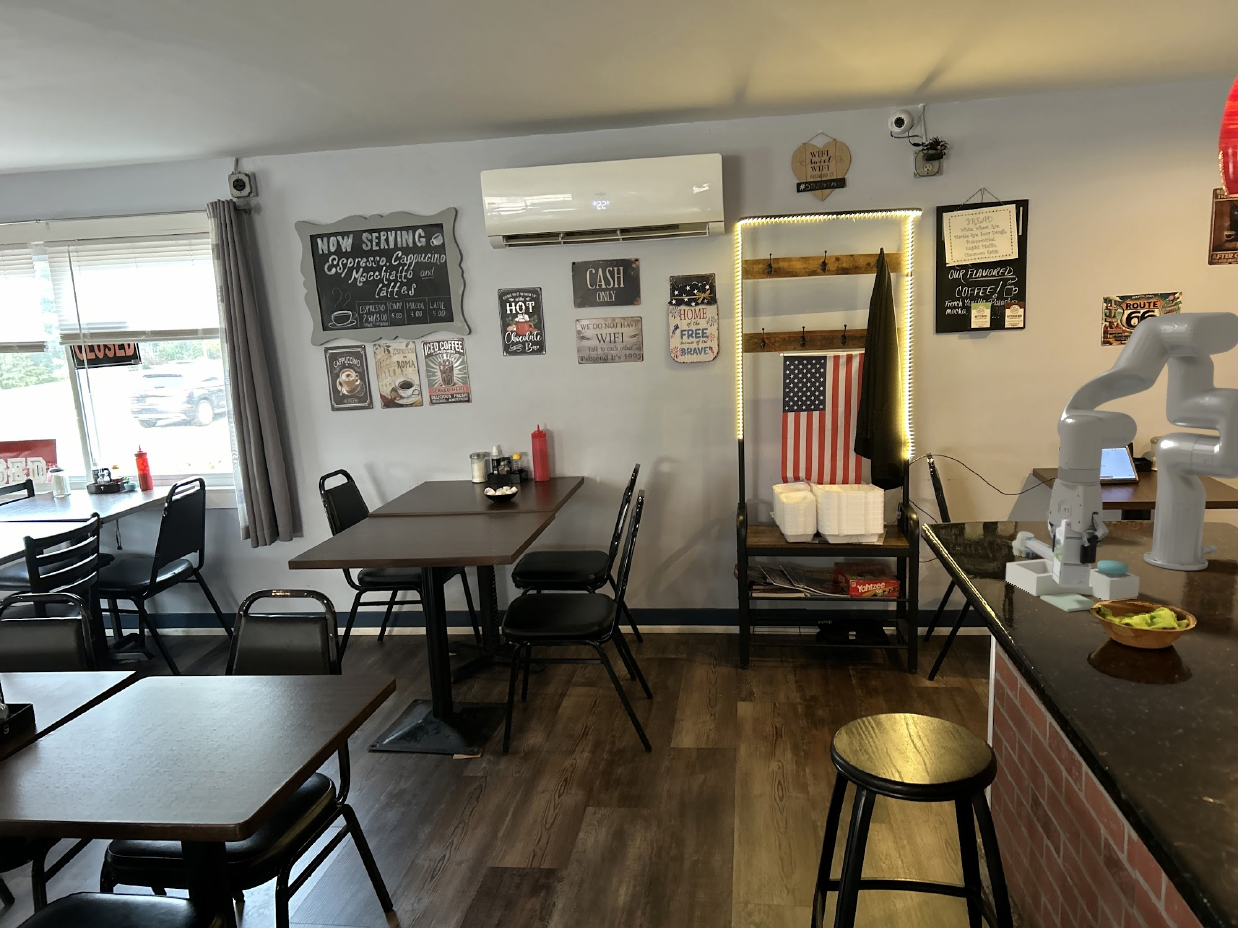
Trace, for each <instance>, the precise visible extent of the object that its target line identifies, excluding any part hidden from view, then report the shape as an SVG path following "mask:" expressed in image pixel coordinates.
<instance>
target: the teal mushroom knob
mask: <svg viewBox="0 0 1238 928" xmlns="http://www.w3.org/2000/svg"><path fill="white" fill-rule="evenodd" d="M1096 569H1098V570H1100V571H1103V572H1104V576H1107V577H1109V578H1118V577H1120V574H1124V573H1127V572H1128V573H1129V565H1128V564H1127V563H1125V562H1122V561H1118V560H1109V559H1107V560H1106V559H1104V560H1099V561H1097V564H1096Z"/></svg>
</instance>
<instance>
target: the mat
mask: <svg viewBox="0 0 1238 928" xmlns="http://www.w3.org/2000/svg"><path fill="white" fill-rule="evenodd" d="M1039 597H1040V599H1041V601H1045V602H1047V603H1049V604H1051V605H1053V606H1054V607H1056V608H1059V609H1061V610H1063V611H1065V612H1067V613H1068V612H1069V613H1070V612H1076V611H1077V612H1078V611H1085V610H1091V609H1090V608H1091V607H1092V606H1093V605H1096V604H1097V603H1098V602H1096V601H1093V600H1092V599H1089V598H1087V597H1085V596H1082V594H1078V593H1074V592H1068V593H1059V594H1050V595H1042V596H1039Z"/></svg>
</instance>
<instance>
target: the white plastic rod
mask: <svg viewBox="0 0 1238 928" xmlns="http://www.w3.org/2000/svg"><path fill="white" fill-rule="evenodd" d="M1011 546H1012V553H1013V555H1014V556H1016V555H1017V556H1018V557H1021V556H1022V557H1021V558H1023V557H1026V558H1025V559H1033V558H1035V557H1036V554H1037V555H1038V556H1039V557H1041V558H1042V559H1047V560H1050V561H1052V562H1053V559H1054V552H1052V546H1051V545H1049V544H1048V543H1045V542H1043V541H1041V540H1039V539H1036V537H1035V534H1034V533H1032V532H1029V531H1024V530H1023V531H1019V532H1018V533H1017V535H1016V539H1014V540H1012V543H1011ZM1017 556H1016V557H1017ZM1034 556H1035V557H1034ZM1091 569H1095V568H1094V567H1092V566H1091Z"/></svg>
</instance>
